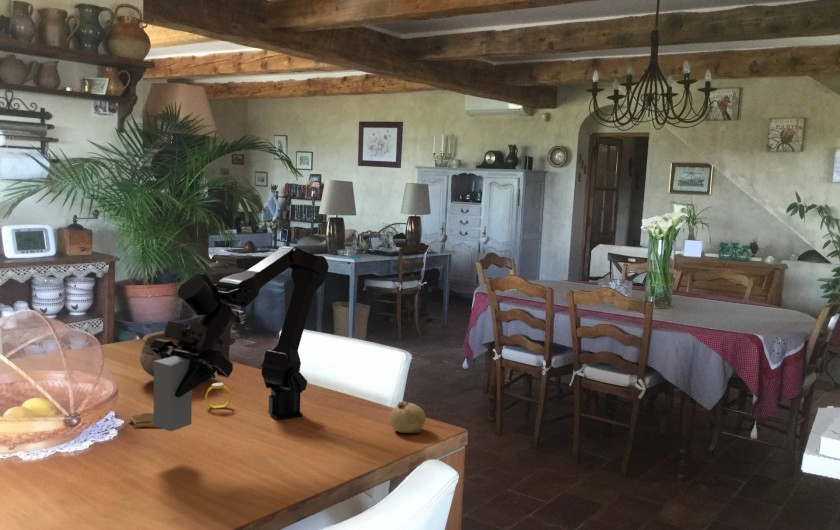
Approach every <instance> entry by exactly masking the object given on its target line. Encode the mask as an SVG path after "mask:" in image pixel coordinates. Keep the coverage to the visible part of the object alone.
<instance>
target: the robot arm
mask: <svg viewBox="0 0 840 530" xmlns="http://www.w3.org/2000/svg"><path fill="white" fill-rule="evenodd" d="M290 269H291V271H290V277H291V281H292V285H293V289H292V293H291V296H290V300H289V303H288V306H287V310H286V314H285V316H284V320H283V324H282V328H281V331H280V334H279V338H278V341H277V345H276V346H275V347H274V348H273V349H272V350H269V349H267V350H266V351H265V353H264V359H263V362H262V364H261V365H260V367H261V376H262V378H263V381H264V385H265V388H266V389H270V394H269V395H268V413H269V414H270V415H271V416H272V417H274V418H275V419H276V420H283V419H289V418H298V417H302V416H303V412H301V394H302V393H303V392H304V391H306V389H307V386H308V380H307V379H306V378H305V376H304V375H303V374H302V373H301V372H300V371H301V364H302V362H301V358H300V357H301V356H300V354H299V347H300V345H301V341H302V340H301V339H302V337H303V333H304V329H305V326H306V323H307V319H308V315H309V311H310V308H311V304H312V301H313V297H314V294H315V292H316V291H318V289H319V288H320V287H321V286H322V285H323V284H324V283H325V281H326V278H327V275H328V272H329V262H328V261H327V259H326V257H325V256H323V255H318V254H314V253H310V252H308V251H306V250H303V249H301V248H299V247H298V246H291V245H282V246H280V247H278V248H277V249H276V251H274V252H273V253H271V254H269V255H268V256H266V257H265V258H263V259H262V260H260V261H259V262H258V263H256V264H255V265H253V266H252V267H250V268H249V269H247V270H245V271H242V272H237V273H232V274H231V275H227V276H225V277H223V278H221V279H219V280H218V282H217V283H216V284H214V283H213V282H212V281H211V280H210V277H209V276H208V275H207V274H206V273H202V272H201V273H200V272H198V273H197V274H196V276H194V277H192V278H189V279H188V280H186V281H185V282H183V283H181V285H180V286H179V288H178V290H177V296H178V297H179V298H180V300H182V302H183V303H184V304H185V305H186V306H187V307H188V308H189V309H190V310H191V311H192V312H193V314H194V315H196V316H201V317H200V318H199V319H198V321H197V322H196V321H190V322H189V324H185V323H182V322H178V321H171V320H168V321H167V323H166V325H165V329H164V334H163V336H164V337H170V338H173V339H176V340H177V341H176V342H175V343H176V344H177V345H178V346H181V349H179V348H178V347H177V346H176V345H175V344H174V343H173V342H171V341H169V340H164V339H156V340H154V341H153V343H152V344H151V346H150V347H149V348H150V349H151V350H152V351H153V352H154V353H155V354H156V355H157V356H158V357H159V358H160V359H164V358H168V357H172V356H177V357H181V358H184V359H188V360H190V362H189V370H188V372H187V373H186V375H185V377H184V378H183V380H182V382H181V383H180V385H179V387H178V389H177V391H176V393H175V396H176V397H178V398H179V397H181V396H182V395H184V394H186V393H187V392H189V391H190V390H192V391H193V389H195V388H196V387H199V386H200V385H201V384H204V383H205V382H207V381H210V380H211V379H215V378H216V377H217V376H219V377H223V378H225V379H228V378H229V377H230V375H231V374H232V372H233V370H234V363H233V362H232V361H231V360H230V359H229V358H228V357H227V356H226V355H225V354H224V352H223V351H220V350H215V348H216V347H217V346H218V347H222V345H223V344H224V341H223V340H222V338H223V337H224V336H223V335H225V333H226V331H227V330H228V329H229V327H230V325H231V324H236V325H240V324H241V322H242V321H241V317H240V311H239V310H233V308H232V307H231V306H234V307H241V308H245V307H247V306H249V305H251V304H252V303H253V301H255V299H257V297H258V296H259V294H260V291H261V289H262V288H263V286H266V285H267V284H268V283H269V282H271V281H273V280H274V279H275V278H277V277H278V276H279V275H281V274H282V273H284V272H285V271H286V270H290ZM216 375H217V376H216Z"/></svg>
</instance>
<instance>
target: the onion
mask: <svg viewBox="0 0 840 530" xmlns="http://www.w3.org/2000/svg"><path fill="white" fill-rule="evenodd" d="M426 418H427V417H426V413H425V411H424V410H423V409H422V408H421V407H420V406H418V405H417V404H415V403H411V402H407V401H405V400H403V401H399V402H398V403H397V405H396V406H395V407H394V408H393V409H392V410H391V413H390V416H389V422H390V425H391V427H392V428H393V429H394V431H397V432H398V433H402V434H419V433H420V432H421V430H422V428H423V427H424V426H425V423H426V420H427V419H426Z"/></svg>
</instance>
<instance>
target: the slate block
mask: <svg viewBox="0 0 840 530" xmlns="http://www.w3.org/2000/svg"><path fill="white" fill-rule="evenodd" d="M189 362H190V360H188V359H184V358H181V357H177V356H172V357H168V358H164V359H160V360H156V361H154V377H153V413H154V426H157V427H156V428H160V429H162V430H165V431H169V432H173V431H176V430H179V429H181V428H185V427H188V426H190V425H192V411H193V410H192V409H193V408H192V403H193V402H192V400H193V399H192V398H193V395H192V394H193V393H192V391H193V389H192V390H190V391H189V392H187V393H186V394H184V395H182V396H181V397H179V398H178V397H176V396H175V393H176V391H177V389H178V387H179V385H180V383H181V382H182V380H183V378H184V377H185V375H186V373H187V372H188V370H189Z"/></svg>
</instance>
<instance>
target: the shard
mask: <svg viewBox="0 0 840 530" xmlns="http://www.w3.org/2000/svg"><path fill="white" fill-rule="evenodd" d="M128 420H129V421H130V422H131V423H133V425H132V426H133V428H134V429H136V428H158V427H157V426H154V412H143V413H139V414H135V415H131V416H128Z"/></svg>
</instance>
